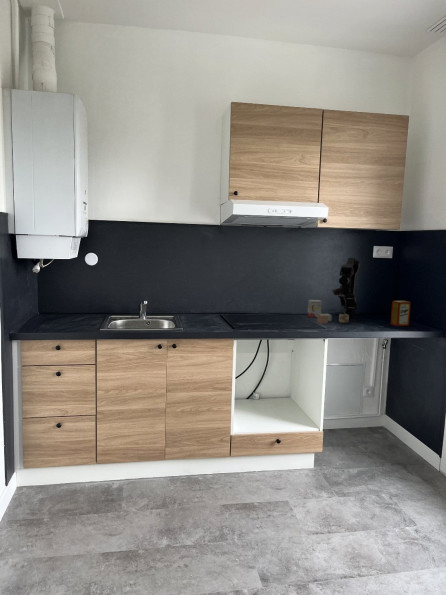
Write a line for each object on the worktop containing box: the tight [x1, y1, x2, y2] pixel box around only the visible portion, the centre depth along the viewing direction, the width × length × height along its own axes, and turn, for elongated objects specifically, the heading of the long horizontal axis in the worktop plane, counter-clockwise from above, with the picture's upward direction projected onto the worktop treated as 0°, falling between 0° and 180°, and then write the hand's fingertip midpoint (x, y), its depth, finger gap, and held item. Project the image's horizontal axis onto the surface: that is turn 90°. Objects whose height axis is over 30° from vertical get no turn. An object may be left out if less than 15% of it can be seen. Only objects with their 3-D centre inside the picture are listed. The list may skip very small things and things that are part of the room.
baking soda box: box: [390, 300, 412, 327], centre depth 296 cm, size 10×6×16 cm
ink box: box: [307, 299, 323, 318], centre depth 320 cm, size 9×5×12 cm, turn 103°
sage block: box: [319, 313, 333, 322], centre depth 308 cm, size 7×7×4 cm
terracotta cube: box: [316, 315, 329, 324], centre depth 296 cm, size 5×5×5 cm
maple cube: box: [338, 313, 350, 324], centre depth 302 cm, size 5×5×5 cm
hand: (344, 307), depth 302 cm, fingers open, 9 cm apart
